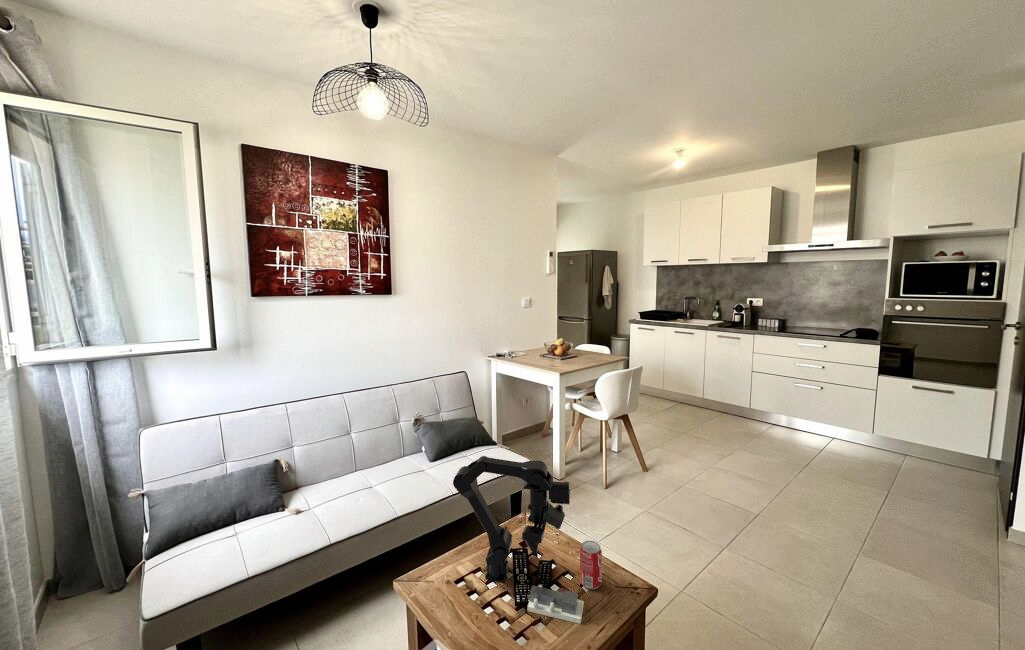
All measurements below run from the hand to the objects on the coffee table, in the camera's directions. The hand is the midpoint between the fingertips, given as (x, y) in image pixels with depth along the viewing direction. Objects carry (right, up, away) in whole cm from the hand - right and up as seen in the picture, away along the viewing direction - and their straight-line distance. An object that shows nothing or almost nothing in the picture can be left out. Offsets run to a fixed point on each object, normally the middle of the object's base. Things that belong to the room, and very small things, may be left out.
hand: (538, 545), depth 136 cm
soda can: (+17, -12, -1) cm, 21 cm away
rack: (+5, -13, -11) cm, 18 cm away
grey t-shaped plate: (+5, -12, -11) cm, 17 cm away
